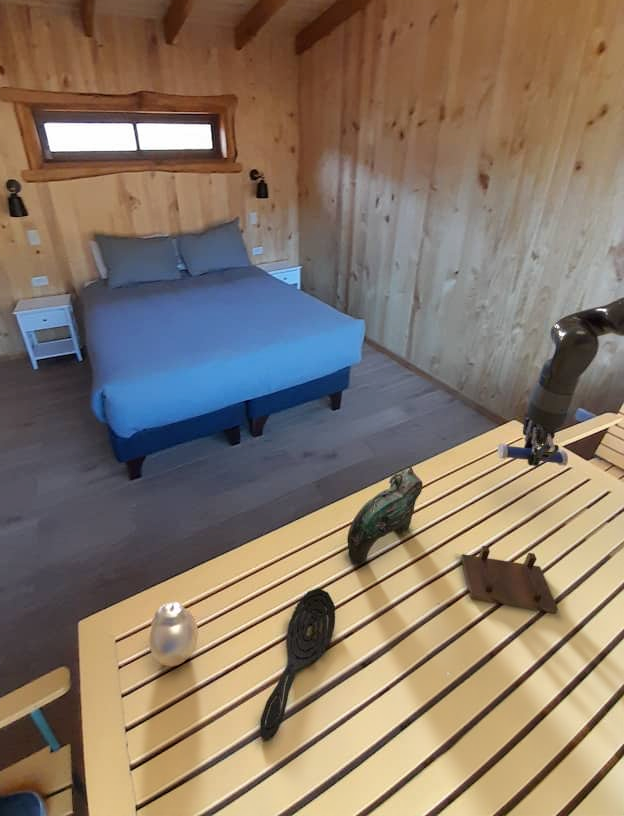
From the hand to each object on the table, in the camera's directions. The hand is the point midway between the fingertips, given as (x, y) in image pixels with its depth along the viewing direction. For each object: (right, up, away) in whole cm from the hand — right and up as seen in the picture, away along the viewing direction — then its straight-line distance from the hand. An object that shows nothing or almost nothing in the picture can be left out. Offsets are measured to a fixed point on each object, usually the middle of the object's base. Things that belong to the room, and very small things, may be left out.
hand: (529, 459), depth 98 cm
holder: (-14, -23, -13) cm, 30 cm away
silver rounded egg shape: (-82, -29, -22) cm, 90 cm away
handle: (0, 0, 0) cm, 0 cm away
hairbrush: (-59, -30, -25) cm, 71 cm away
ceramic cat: (-38, -19, -4) cm, 42 cm away
